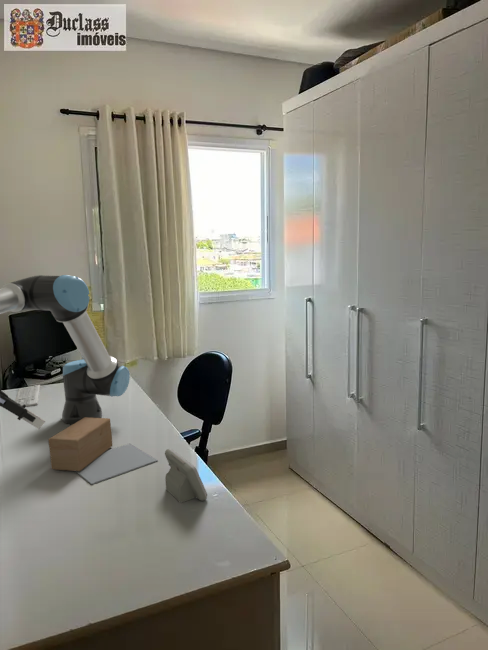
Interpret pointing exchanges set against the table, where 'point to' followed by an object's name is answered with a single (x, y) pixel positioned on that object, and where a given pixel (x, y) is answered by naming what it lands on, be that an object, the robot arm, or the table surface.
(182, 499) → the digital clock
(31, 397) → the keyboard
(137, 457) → the grey mat
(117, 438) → the table surface
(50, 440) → the wooden block
